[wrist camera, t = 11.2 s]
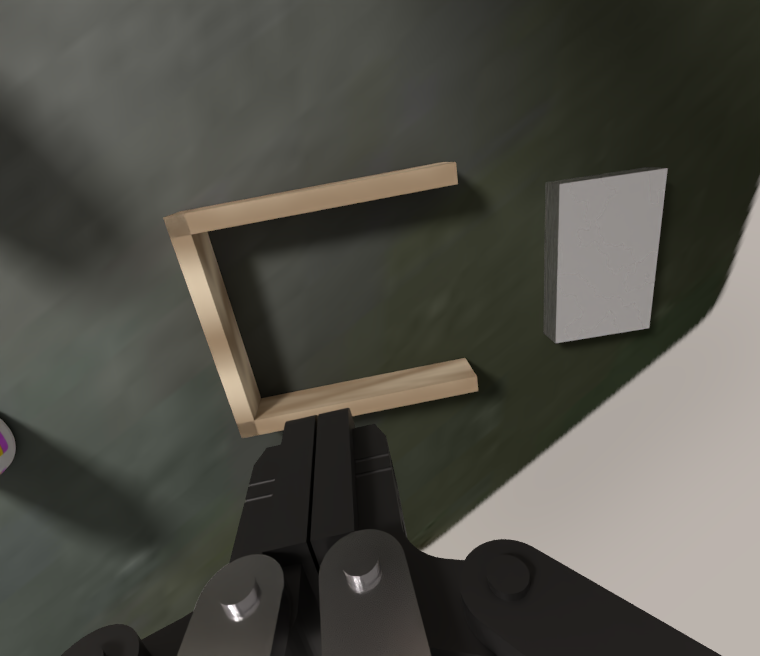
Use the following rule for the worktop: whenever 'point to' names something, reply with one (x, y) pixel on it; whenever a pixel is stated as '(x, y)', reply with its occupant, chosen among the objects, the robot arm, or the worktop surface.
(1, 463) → the supplement bottle
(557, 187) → the cover plate
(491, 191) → the worktop surface
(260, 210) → the wooden bracket
